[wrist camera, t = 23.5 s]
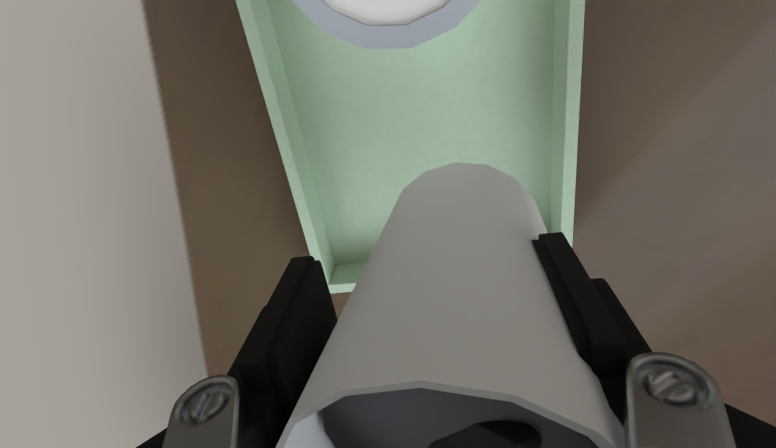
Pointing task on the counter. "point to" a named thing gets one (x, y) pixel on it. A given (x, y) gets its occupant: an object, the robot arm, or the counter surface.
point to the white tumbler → (454, 334)
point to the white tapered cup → (386, 20)
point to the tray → (417, 115)
